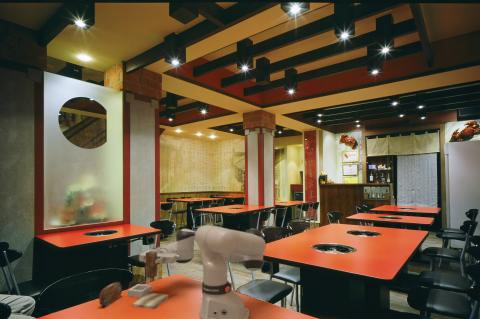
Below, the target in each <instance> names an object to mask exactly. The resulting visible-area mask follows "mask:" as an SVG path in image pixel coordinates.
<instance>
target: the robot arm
mask: <svg viewBox="0 0 480 319" xmlns="http://www.w3.org/2000/svg"><path fill="white" fill-rule="evenodd" d="M175 236H176V238H175V239H176V241H174V242H171V243H168V244H166V245H163V246H158V247H152V248H149V249H148V250H145V251H143V252H141V253H140V254H139V256H138V260H139V262H144V263H145V264H146V253H147V252H149V251H156V252H157V259H155V260H154V264H157V265H158V264H162V265H165V264H174V263H176V264H187V263H189V262H191V261H192V260H193V259H194V257H195V256H194V255H195V251H194V250H195V249H194V248H195V244H194V243H195V242H196V244H197V246H198V248H199V251H200V252H199V254H200V257H201V261H202V279H203V280H202V284H201V293H202V299H201V300H202V301H201V306H200V311H199V317H200V318H201V319H249V318H250V310H249V308H247V307H245V302H244V299H243V298H242V297H241V296H240V295H238V294H237V293H236V292H235V291H233V290H232V288H233V287H232V286H233V282H230V281H228V263H236V262H237V263H239V262H240V263H241V264H242V265H243V267H244V269H246V270H248V271H251V272H256V271H259V270H261V269H262V268H263V267H264V266H263V265H264V252H265V251H266V241H265V239H264V238H263V233H262V231H261V230H260V229H257V228H249V229H246V231H240V230H235V229H229V228H226V227H220V226H216V225H211V224H208V225H207V224H206V225H201V226H200V227H198V228H197V230H193V229H189V228H182V229H179V230H178V232H177V233H176V235H175Z"/></svg>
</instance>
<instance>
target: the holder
mask: <svg viewBox="0 0 480 319" xmlns="http://www.w3.org/2000/svg"><path fill="white" fill-rule="evenodd" d="M152 292H153V285H152V284H151V285H150V284H141V283H140V284H139V283H137V284H136V285H134V286H132V287H130V288H129V289H127V297H134V298H142V297H143V296H145V295H146V294H148V293H152Z"/></svg>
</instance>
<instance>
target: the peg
mask: <svg viewBox="0 0 480 319" xmlns="http://www.w3.org/2000/svg"><path fill="white" fill-rule="evenodd" d="M155 259H157V252H156V251H149V252H147V253H146V263H145V278H146V279H153V278H155V277H157V275H158V263H157V264H154V260H155Z"/></svg>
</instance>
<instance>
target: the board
mask: <svg viewBox="0 0 480 319" xmlns="http://www.w3.org/2000/svg"><path fill="white" fill-rule="evenodd" d="M169 298H170V294H164V293H155V292H154V293H153V292H150V293H148V294H146V295H145V296H143V297H139V299H137V300H135V302H133V303H131V304H132V305H131V306H132V307H135V308H143V309H149V310H150V309H151V310H155V309H157V308H158V307H159V306H160V305H162V303H164V302H166V300H168V299H169Z"/></svg>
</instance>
